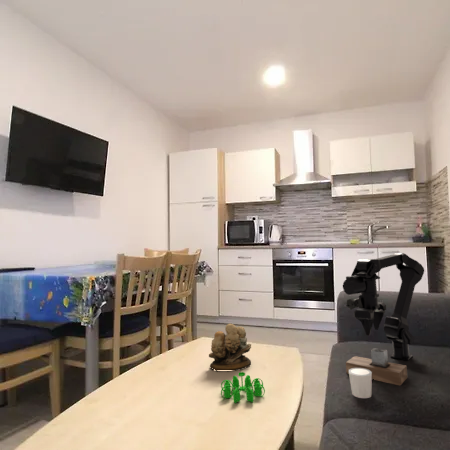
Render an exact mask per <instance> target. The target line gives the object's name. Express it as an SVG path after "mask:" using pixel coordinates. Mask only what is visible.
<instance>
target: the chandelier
mask: <svg viewBox="0 0 450 450" xmlns="http://www.w3.org/2000/svg"><path fill="white" fill-rule="evenodd" d="M237 375H238V377H240V378H241V380H239V378H238V377H237ZM237 375H233V377H232V381H231V380H228V379H225V380H223V381H222V382H221V385H220V387H221V391H220V395H221V398H223V399H224V400H226V399H230V398H232V397H233V398H232V400H233V403H235V404H237V403H238V402H240V401H241V392H245V397H246V401H248V402H250V403H253V402H254V398H255V397H260V398H262V397H263V396H264V395H265V393H266V390H265V386H264V382H263V380H262V379H261V378H259V377H257V378H254V379H253V380H252V379H251V376H250V375H249V374H247V375H246V373H245V372H243V371H241V372H238V374H237ZM243 377H244V381H243ZM240 381H241V385H240ZM260 381H261V382H260ZM223 384H224V385H223ZM262 390H263V392H262ZM254 396H255V397H254ZM225 398H226V399H225Z"/></svg>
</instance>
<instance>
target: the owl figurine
mask: <svg viewBox="0 0 450 450" xmlns="http://www.w3.org/2000/svg"><path fill="white" fill-rule="evenodd" d="M225 332H226V333H225ZM225 332H223V331H221V330H218V331H216V332H215V333H214V337H213V339H211V345H210V347H211V348H210V349H211V350H210V351H211V352H210V353H209V354H208V357H209V358H211V359H214V360H213V361H211V363H210V365H209V368H210V367H211V368H213V369H215V370H235V371H237V370H236V369H240V370H243V369H242V368H244V369H246V368H248V367H249V366H251V364H252V360H251V359H249V358H248V357H247V356H246V355H244V354H246V353H248V352H250V351H251V349H252V343H247V342H248V337H247V332H246V329H245V327H243V326H236V325H235V324H234V323H228V324H226V326H225ZM245 367H246V368H245Z"/></svg>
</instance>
